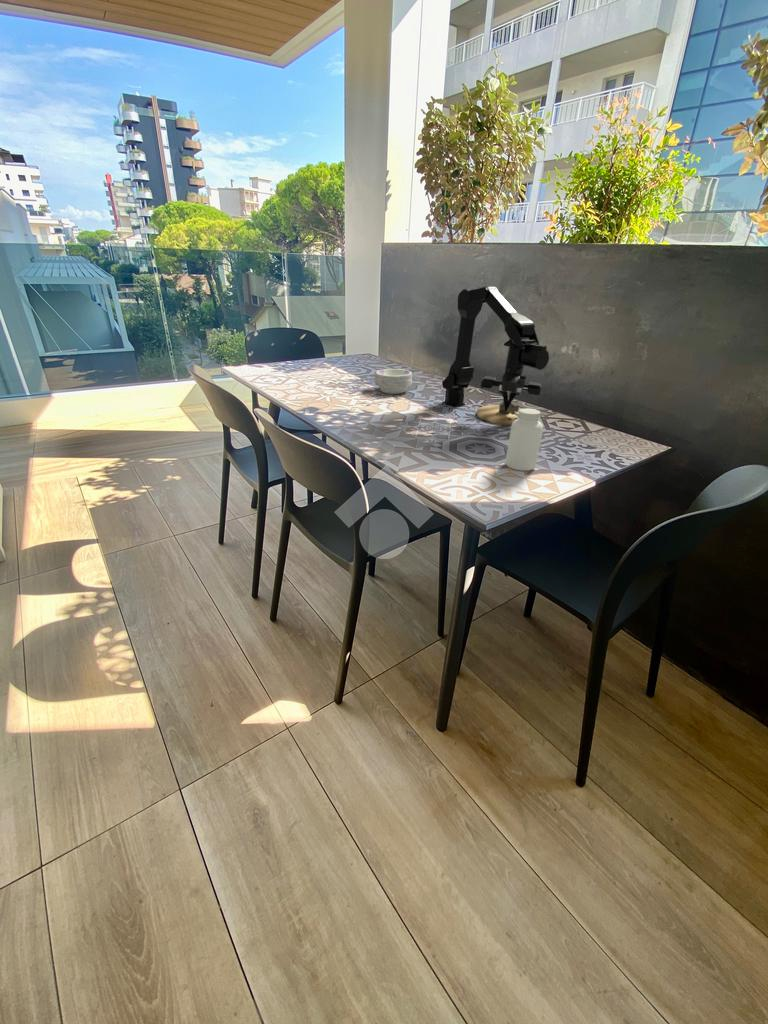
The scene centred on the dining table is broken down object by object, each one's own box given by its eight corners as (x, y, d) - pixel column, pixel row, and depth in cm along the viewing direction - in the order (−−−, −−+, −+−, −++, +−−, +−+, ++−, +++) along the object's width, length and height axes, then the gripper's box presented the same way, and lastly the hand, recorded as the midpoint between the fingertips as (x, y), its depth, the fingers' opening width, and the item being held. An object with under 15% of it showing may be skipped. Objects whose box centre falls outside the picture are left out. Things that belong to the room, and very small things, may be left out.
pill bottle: (500, 460, 124) (509, 406, 117) (529, 459, 125) (539, 406, 118) (510, 471, 117) (520, 415, 110) (540, 471, 118) (552, 415, 111)
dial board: (465, 414, 160) (466, 409, 160) (498, 406, 172) (498, 401, 171) (510, 428, 148) (511, 423, 147) (542, 418, 159) (543, 413, 158)
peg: (497, 410, 161) (499, 396, 158) (508, 410, 161) (510, 396, 158) (511, 423, 147) (514, 408, 145) (523, 423, 148) (526, 408, 145)
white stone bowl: (373, 386, 193) (373, 367, 189) (408, 386, 195) (409, 368, 191) (376, 396, 180) (376, 375, 176) (414, 396, 181) (415, 376, 177)
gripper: (482, 364, 138) (474, 413, 146) (544, 371, 134) (533, 422, 141) (487, 357, 148) (479, 404, 155) (545, 364, 143) (535, 412, 151)
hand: (506, 411), depth 150 cm, fingers closed
